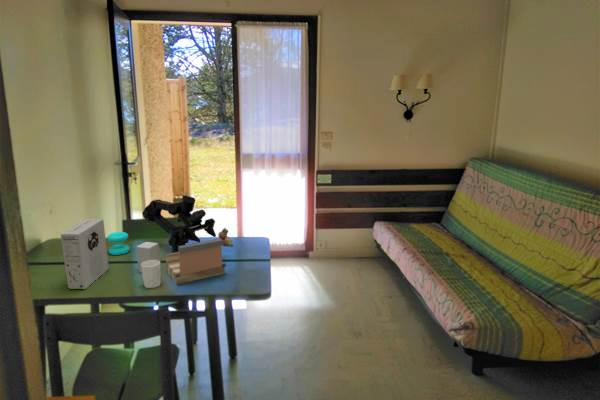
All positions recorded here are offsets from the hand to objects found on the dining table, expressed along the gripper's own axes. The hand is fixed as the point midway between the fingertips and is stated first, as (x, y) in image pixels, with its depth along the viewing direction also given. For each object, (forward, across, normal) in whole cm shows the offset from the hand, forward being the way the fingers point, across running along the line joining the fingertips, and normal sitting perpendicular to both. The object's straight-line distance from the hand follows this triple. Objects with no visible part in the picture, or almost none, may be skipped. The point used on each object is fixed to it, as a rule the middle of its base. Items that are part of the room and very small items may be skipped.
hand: (207, 238), depth 201 cm
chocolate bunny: (-10, +26, +21) cm, 35 cm away
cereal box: (-22, -42, +26) cm, 54 cm away
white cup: (+2, -28, +15) cm, 32 cm away
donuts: (-40, -18, +35) cm, 56 cm away
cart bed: (+6, -8, +13) cm, 16 cm away
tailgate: (+11, -10, +6) cm, 16 cm away
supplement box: (-11, -20, +22) cm, 31 cm away
